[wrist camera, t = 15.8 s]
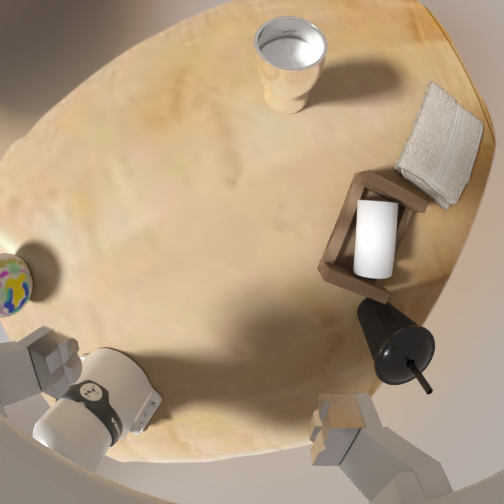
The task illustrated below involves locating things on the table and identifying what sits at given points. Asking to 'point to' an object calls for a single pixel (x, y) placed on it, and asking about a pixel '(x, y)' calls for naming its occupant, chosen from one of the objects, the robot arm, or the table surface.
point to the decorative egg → (14, 284)
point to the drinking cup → (396, 343)
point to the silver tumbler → (289, 61)
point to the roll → (375, 238)
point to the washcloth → (440, 147)
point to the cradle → (344, 234)
